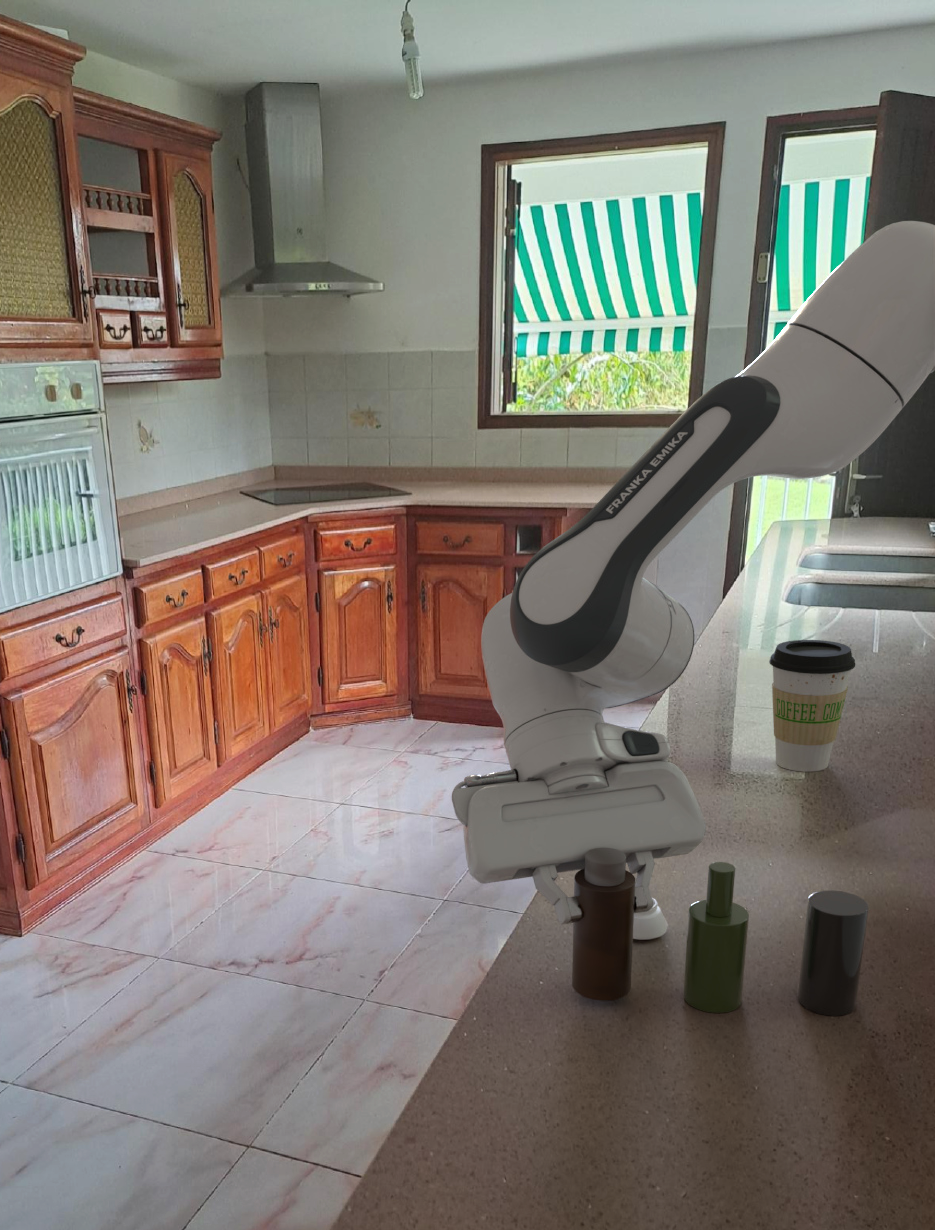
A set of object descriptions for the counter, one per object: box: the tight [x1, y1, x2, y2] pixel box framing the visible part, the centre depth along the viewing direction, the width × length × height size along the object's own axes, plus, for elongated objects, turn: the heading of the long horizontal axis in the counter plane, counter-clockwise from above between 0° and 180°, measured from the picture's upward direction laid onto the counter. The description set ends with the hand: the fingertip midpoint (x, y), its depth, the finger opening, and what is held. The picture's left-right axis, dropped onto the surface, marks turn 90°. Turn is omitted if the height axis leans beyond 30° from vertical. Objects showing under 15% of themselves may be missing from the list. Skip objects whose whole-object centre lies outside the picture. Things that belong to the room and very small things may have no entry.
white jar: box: [633, 897, 669, 941], centre depth 104 cm, size 5×3×5 cm
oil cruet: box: [682, 861, 750, 1014], centre depth 91 cm, size 5×5×12 cm
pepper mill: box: [571, 848, 636, 1002], centre depth 92 cm, size 5×5×12 cm
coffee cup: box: [768, 639, 856, 773], centre depth 140 cm, size 10×10×15 cm
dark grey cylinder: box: [797, 890, 870, 1017], centre depth 90 cm, size 4×4×9 cm
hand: (607, 915), depth 91 cm, fingers closed on pepper mill, 5 cm apart
